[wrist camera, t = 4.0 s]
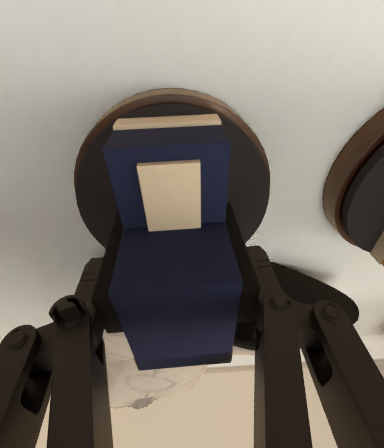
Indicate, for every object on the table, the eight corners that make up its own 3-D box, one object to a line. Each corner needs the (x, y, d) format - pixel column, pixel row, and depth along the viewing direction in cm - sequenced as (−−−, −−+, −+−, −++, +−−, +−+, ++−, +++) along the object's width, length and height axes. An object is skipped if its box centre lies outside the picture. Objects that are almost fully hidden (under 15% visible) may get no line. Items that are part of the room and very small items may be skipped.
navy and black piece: (253, 259, 22) (291, 362, 15) (106, 269, 22) (76, 381, 15) (284, 97, 14) (402, 161, 7) (45, 108, 13) (-96, 191, 6)
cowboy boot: (58, 318, 16) (79, 419, 31) (404, 362, 20) (275, 434, 35) (101, 230, 24) (102, 346, 39) (347, 273, 27) (260, 364, 42)
